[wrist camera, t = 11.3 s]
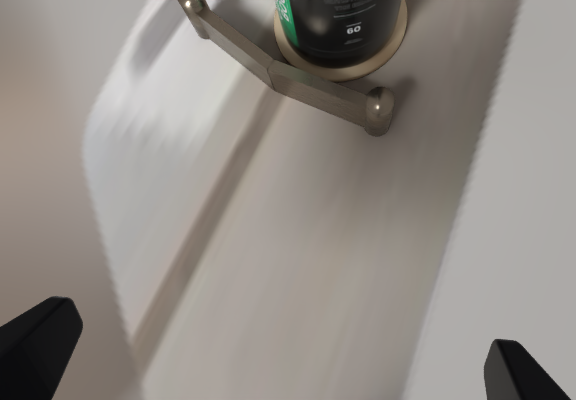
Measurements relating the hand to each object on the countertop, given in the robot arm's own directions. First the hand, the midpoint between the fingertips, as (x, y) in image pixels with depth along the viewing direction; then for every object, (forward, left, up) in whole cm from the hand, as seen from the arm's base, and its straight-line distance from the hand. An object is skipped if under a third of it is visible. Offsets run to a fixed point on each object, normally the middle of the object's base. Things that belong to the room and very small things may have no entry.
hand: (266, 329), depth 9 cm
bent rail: (+10, +9, -14) cm, 19 cm away
